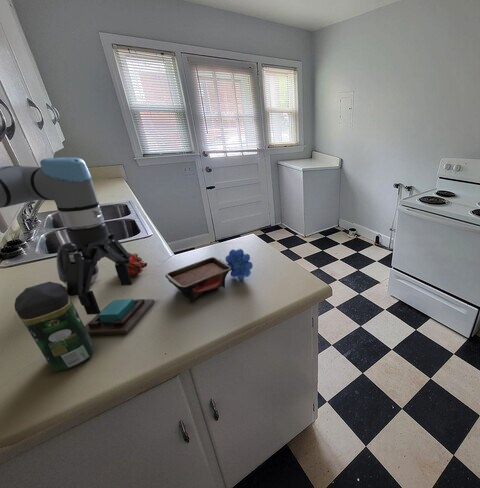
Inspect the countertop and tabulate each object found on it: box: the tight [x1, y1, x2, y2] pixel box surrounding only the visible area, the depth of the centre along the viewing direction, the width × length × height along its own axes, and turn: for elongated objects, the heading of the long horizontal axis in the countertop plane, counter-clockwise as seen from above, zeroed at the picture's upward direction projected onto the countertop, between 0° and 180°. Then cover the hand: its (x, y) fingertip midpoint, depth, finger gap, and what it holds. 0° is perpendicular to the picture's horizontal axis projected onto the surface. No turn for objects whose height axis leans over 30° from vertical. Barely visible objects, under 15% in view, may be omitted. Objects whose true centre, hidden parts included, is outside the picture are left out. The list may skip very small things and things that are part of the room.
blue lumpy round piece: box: [224, 248, 254, 280], centre depth 94 cm, size 12×7×12 cm, turn 65°
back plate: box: [84, 298, 155, 336], centre depth 76 cm, size 14×12×2 cm
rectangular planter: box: [164, 256, 231, 304], centre depth 89 cm, size 14×18×10 cm
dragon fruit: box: [114, 252, 148, 278], centre depth 98 cm, size 8×8×12 cm
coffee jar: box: [13, 281, 95, 372], centre depth 59 cm, size 10×8×19 cm
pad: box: [97, 298, 135, 323], centre depth 75 cm, size 7×5×3 cm
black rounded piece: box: [56, 242, 100, 286], centre depth 90 cm, size 10×10×15 cm
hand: (111, 298), depth 74 cm, fingers open, 13 cm apart
